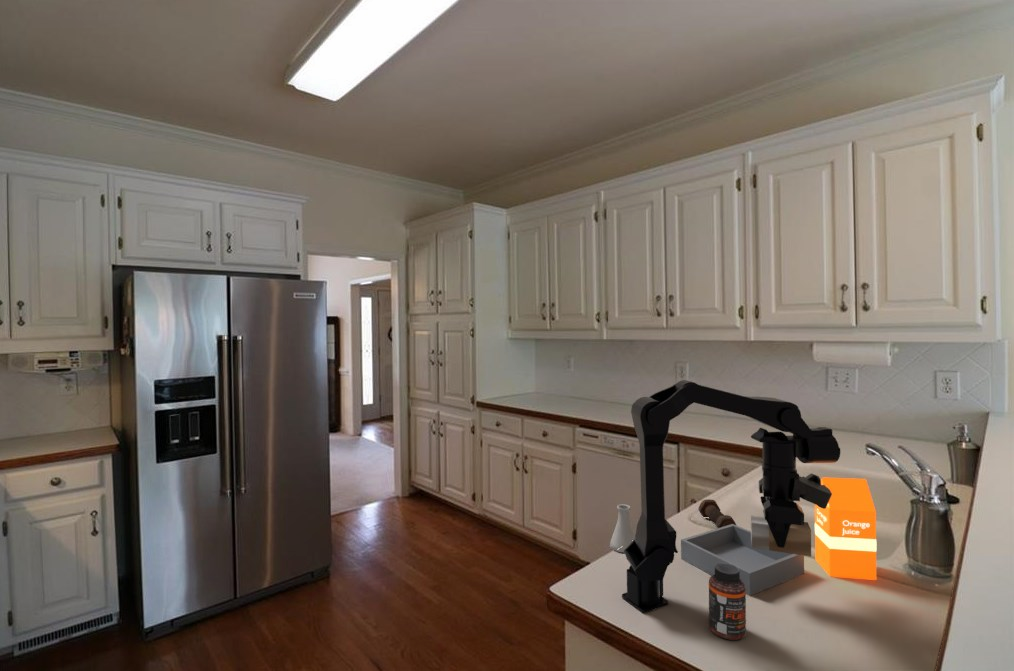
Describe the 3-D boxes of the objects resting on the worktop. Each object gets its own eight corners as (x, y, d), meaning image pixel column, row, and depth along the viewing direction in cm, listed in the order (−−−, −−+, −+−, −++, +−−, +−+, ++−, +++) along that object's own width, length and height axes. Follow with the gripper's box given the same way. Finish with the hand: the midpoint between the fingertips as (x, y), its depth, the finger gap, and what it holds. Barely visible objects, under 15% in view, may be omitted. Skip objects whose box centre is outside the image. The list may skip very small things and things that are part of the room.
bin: (749, 595, 97) (749, 573, 96) (681, 558, 112) (680, 539, 112) (804, 573, 105) (803, 552, 104) (732, 541, 120) (732, 523, 120)
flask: (616, 538, 124) (615, 499, 124) (643, 545, 120) (643, 504, 120) (604, 549, 118) (603, 508, 118) (633, 556, 114) (632, 514, 114)
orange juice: (814, 559, 111) (813, 472, 110) (858, 562, 109) (857, 473, 108) (830, 577, 103) (829, 483, 103) (877, 580, 101) (876, 485, 101)
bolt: (731, 547, 121) (705, 521, 136) (749, 537, 121) (720, 512, 136) (720, 528, 121) (695, 504, 136) (737, 517, 121) (710, 494, 136)
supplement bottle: (728, 646, 82) (727, 579, 82) (701, 626, 87) (700, 563, 87) (754, 636, 84) (753, 571, 84) (726, 617, 90) (725, 556, 90)
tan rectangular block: (811, 556, 92) (811, 530, 92) (752, 547, 96) (751, 522, 96) (807, 547, 95) (807, 522, 95) (750, 539, 100) (750, 515, 99)
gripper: (838, 482, 84) (838, 572, 84) (818, 455, 101) (819, 530, 101) (764, 475, 88) (765, 560, 88) (758, 450, 105) (758, 522, 105)
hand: (779, 542), depth 96 cm, fingers closed on tan rectangular block, 4 cm apart
